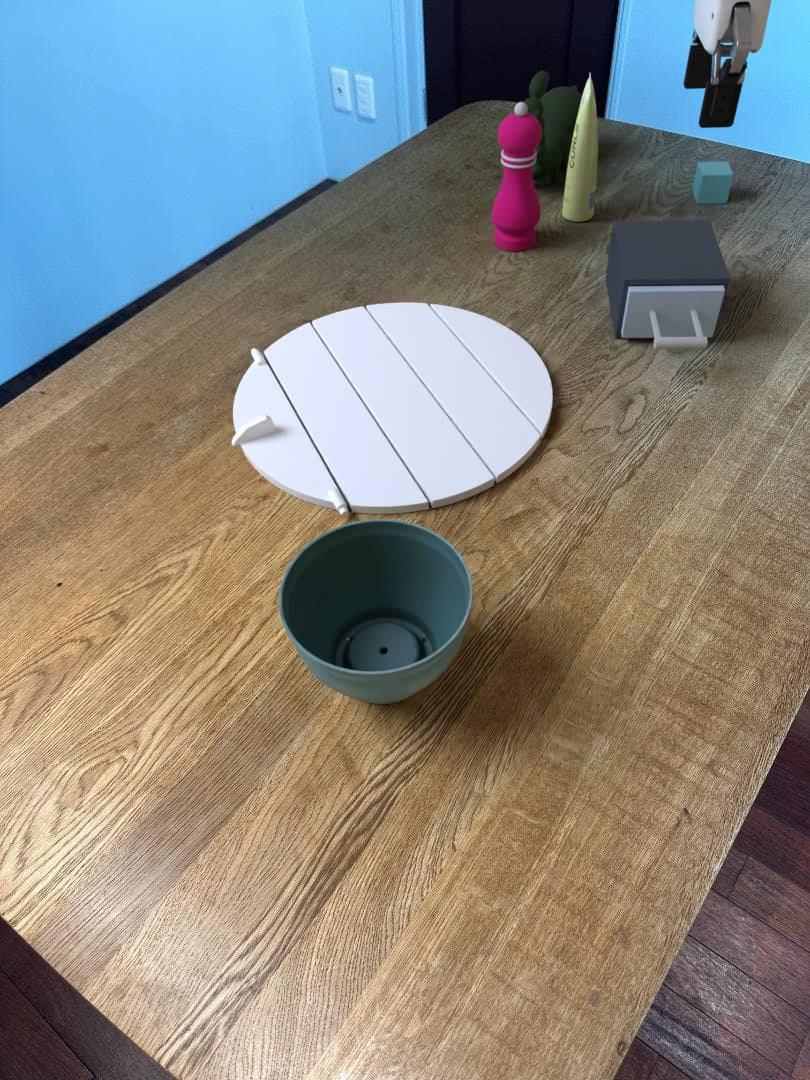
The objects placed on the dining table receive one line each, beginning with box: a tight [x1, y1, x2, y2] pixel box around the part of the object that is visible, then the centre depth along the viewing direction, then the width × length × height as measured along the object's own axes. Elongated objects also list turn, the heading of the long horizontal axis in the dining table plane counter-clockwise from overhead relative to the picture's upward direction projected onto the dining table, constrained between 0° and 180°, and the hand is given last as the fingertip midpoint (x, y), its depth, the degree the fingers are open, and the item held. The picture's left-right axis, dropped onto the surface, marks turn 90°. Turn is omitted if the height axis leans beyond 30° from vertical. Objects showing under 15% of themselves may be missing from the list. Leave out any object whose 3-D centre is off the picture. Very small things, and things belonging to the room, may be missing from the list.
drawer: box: [621, 284, 725, 350], centre depth 104 cm, size 21×11×7 cm, turn 176°
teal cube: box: [691, 160, 734, 205], centre depth 128 cm, size 5×5×5 cm
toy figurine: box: [523, 70, 583, 188], centre depth 133 cm, size 9×19×25 cm
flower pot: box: [278, 518, 474, 705], centre depth 71 cm, size 16×16×11 cm
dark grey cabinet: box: [605, 219, 731, 339], centre depth 107 cm, size 15×13×9 cm
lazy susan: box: [231, 302, 554, 518], centre depth 99 cm, size 40×39×3 cm
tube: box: [561, 71, 599, 223], centre depth 121 cm, size 6×5×20 cm
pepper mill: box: [491, 101, 542, 253], centre depth 116 cm, size 7×7×20 cm
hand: (706, 106), depth 82 cm, fingers open, 9 cm apart
